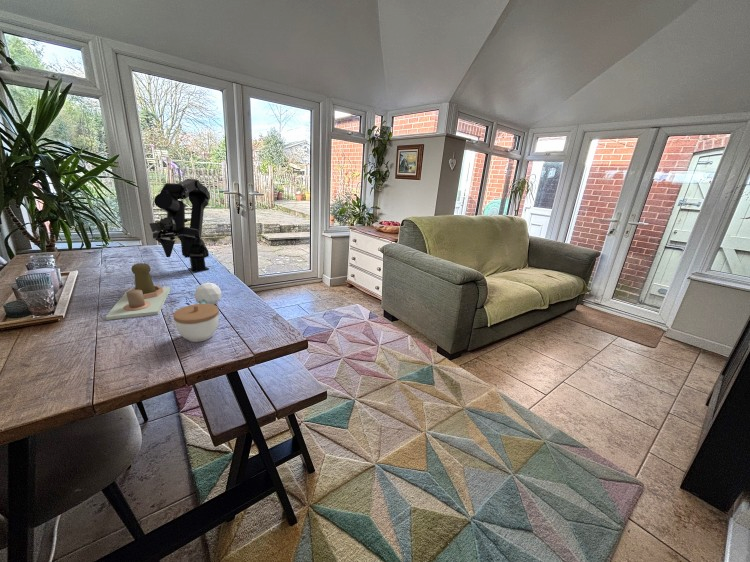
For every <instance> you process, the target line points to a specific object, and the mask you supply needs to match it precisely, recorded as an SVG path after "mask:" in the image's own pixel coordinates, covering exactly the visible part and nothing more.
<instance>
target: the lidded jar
mask: <svg viewBox="0 0 750 562" xmlns="http://www.w3.org/2000/svg"><path fill="white" fill-rule="evenodd" d="M219 312H220V309H219V307H218V306H217V305H216V304H214V305H213V304H199V303H195V304H190V305H187V306H183V307H180V308H178V309H177V310H175V311H174V312H173V314H172V317H173V318H172V319H173V320H174V325H175V328H176V331H177V333H178V334H179V335H180V336H181V337H182V338H184V339H185V340H188V341H189V342H192V343H199V342H203V341H207V340H210V338H212V337H213V335H214V334H215V332H216V331H217V330H218V328H219V324H220V313H219Z"/></svg>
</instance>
